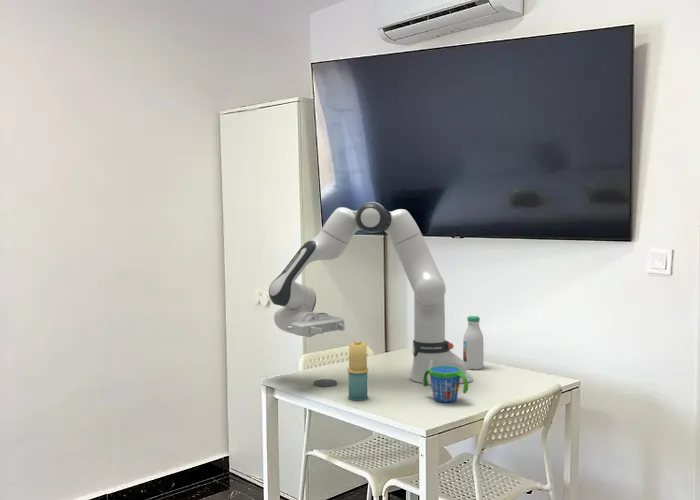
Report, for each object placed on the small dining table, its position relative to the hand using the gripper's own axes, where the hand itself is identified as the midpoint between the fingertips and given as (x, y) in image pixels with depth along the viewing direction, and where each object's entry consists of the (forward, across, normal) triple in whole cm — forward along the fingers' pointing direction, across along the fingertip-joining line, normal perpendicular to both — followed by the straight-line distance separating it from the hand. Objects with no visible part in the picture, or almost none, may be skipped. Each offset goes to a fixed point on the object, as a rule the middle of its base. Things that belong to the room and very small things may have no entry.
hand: (332, 329), depth 237 cm
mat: (-9, +4, +21) cm, 23 cm away
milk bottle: (+13, +61, +21) cm, 66 cm away
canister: (+12, 0, +21) cm, 24 cm away
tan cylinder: (+12, 0, +12) cm, 17 cm away
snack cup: (+34, +20, +21) cm, 44 cm away
